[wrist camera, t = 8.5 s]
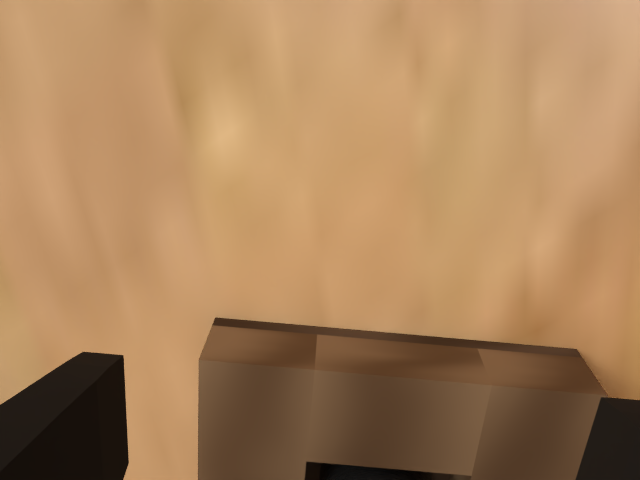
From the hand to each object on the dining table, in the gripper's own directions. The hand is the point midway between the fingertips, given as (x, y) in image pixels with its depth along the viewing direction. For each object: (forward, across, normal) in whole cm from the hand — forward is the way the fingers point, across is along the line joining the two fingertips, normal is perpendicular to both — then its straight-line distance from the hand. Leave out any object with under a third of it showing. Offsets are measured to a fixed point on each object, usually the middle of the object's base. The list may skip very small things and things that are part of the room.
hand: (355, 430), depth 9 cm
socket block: (+10, -2, +10) cm, 14 cm away
